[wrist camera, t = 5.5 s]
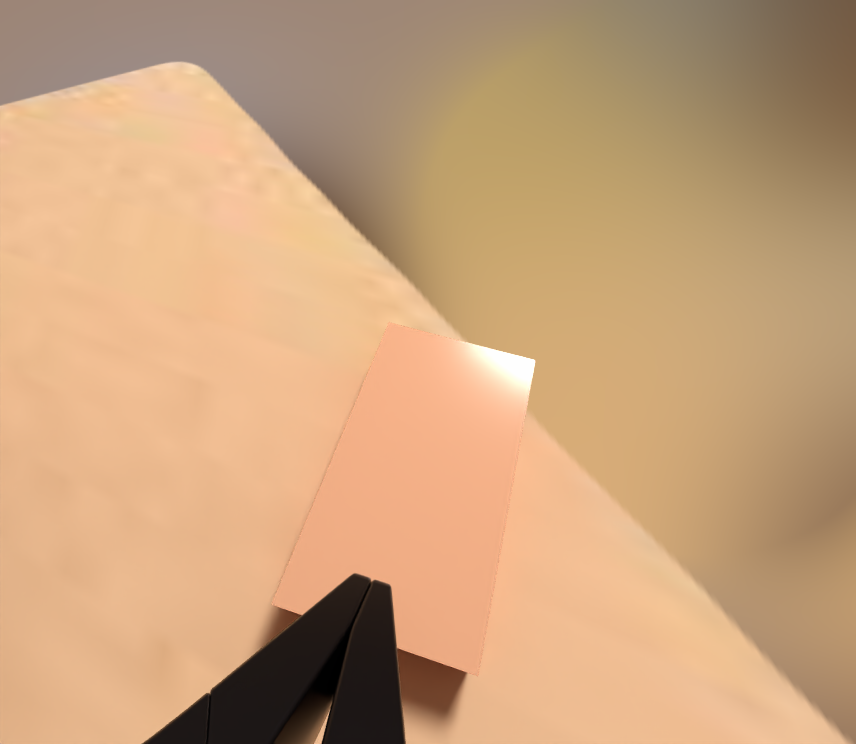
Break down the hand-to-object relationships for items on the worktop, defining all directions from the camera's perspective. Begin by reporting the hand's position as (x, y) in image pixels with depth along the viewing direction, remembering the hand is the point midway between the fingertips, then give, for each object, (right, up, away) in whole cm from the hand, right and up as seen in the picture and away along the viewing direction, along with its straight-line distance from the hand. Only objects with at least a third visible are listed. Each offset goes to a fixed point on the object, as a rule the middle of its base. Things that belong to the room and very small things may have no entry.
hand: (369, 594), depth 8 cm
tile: (-1, -4, +5) cm, 7 cm away
